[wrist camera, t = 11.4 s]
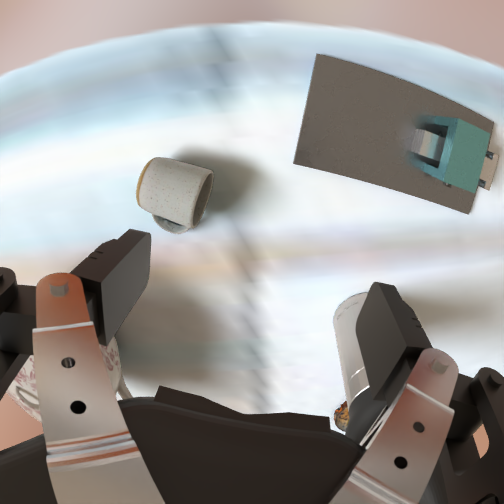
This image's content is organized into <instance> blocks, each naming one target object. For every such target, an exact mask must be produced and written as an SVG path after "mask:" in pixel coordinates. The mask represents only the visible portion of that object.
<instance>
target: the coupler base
mask: <svg viewBox="0 0 504 504" xmlns="http://www.w3.org/2000/svg"><path fill="white" fill-rule="evenodd" d="M436 116H443V117H452V118H459V119H461V120H463V121H465V122H468V123H470V124H472V125H474V126H476V127H478V128H480V129H482V130H484V131H486V132H488V133H490V138H491V134H492V129H493V124H494V122H492V121H490V120H489V119H487V118H485V117H483V116H481V115H479V114H477V113H476V112H474V111H472V110H470V109H468V108H466V107H464V106H462V105H460V104H458V103H455V102H453V101H451V100H449V99H447V98H445V97H443V96H440V95H438V94H436V93H433V92H431V91H429V90H426V89H424V88H422V87H419V86H417V85H414V84H412V83H409V82H407V81H404V80H401V79H399V78H396V77H393V76H390V75H388V74H385V73H382V72H379V71H376V70H373V69H370V68H367V67H363V66H360V65H357V64H353V63H350V62H347V61H343V60H339V59H336V58H332V57H328V56H324V55H320V54H316V57H315V62H314V67H313V72H312V77H311V82H310V86H309V91H308V96H307V101H306V105H305V110H304V115H303V119H302V124H301V129H300V133H299V138H298V142H297V147H296V152H295V156H294V161H293V164H297V165H301V166H305V167H310V168H314V169H318V170H322V171H326V172H330V173H334V174H338V175H342V176H346V177H350V178H354V179H357V180H361V181H365V182H368V183H372V184H375V185H379V186H382V187H386V188H389V189H393V190H396V191H399V192H403V193H406V194H409V195H412V196H415V197H419V198H422V199H425V200H428V201H431V202H434V203H437V204H440V205H443V206H446V207H449V208H451V209H454V210H457V211H460V212H463V213H465V214H468V215H469V212H470V209H471V206H472V203H473V200H474V197H475V193H476V192H475V193H472V192H469V191H467V190H464V189H462V188H459V187H456V186H454V185H452V187H451V188H449V187H447V186H444V185H443V181H441V180H439V179H437V178H435V177H433V176H431V175H429V174H427V173H425V172H423V168H424V164H425V163H426V164H429V165H432V166H434V167H437V168H439V164H440V160H441V156H442V152H443V148H444V144H445V140H446V136H447V131H448V129H446V128H443V127H441V126H439V125H436V124H434V123H435V118H436ZM490 138H489V142H490ZM489 142H488V147H489ZM488 147H487V151H486V155H485V159H484V163H483V167H482V171H481V174H480V178H479V181H478V185H477V187H478V186H480V187H482V188H484V189H486V190H490V187H491V183H492V180H493V176H494V173H495V169H496V165H497V162H498V158H499V155H497V154H495V153H492V152H489V151H488ZM476 190H477V188H476Z"/></svg>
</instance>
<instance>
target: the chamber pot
mask: <svg viewBox="0 0 504 504" xmlns="http://www.w3.org/2000/svg"><path fill="white" fill-rule="evenodd" d="M99 346H100V350H101V353H102V357H103V360H104V363H105V366H106V369H107V373H108V376H109V379H110V382H111V385H112V388H113V391H114V393H115V396H116V393H117V392H118V393H119V395H120V396H121V397H122V399H128V398H133V397H132V395H131V393H130V392H129V390H128V388H127V387H126V384H125V382H124V379H123V376H122V369H121V363H120V357H119V351H118V346H117V341H116V339H115V337H114V336H113V338H112V339H111V341H110V343H109V344H108V346H107V347H106V346H103V345H101V344H99ZM6 393H7V394H8V395H9V396H10V397H11V399H12V400H13V401H14V402H15V403H16V404H17V405H19V406H20V407H21V408H22V409H23V410H24V411H26V412H27V413H28V414H29V415H30V416H32V417H33V418H35V419H36V420H38V421H39V422H41V423H42V421H41V415H40V409H39V402H38V394H37V386H36V377H35V366H34V356H33V355H30V357H29V358H28V360H27V361H26V362H25V364H24V365H23V367H22V368H21V370H20V371H19V373H18V374H17V376H16V377H15V379H14V380H13V382H12V383H11V385H10V386H9V388H8V389H7V391H6Z"/></svg>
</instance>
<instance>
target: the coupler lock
mask: <svg viewBox="0 0 504 504" xmlns="http://www.w3.org/2000/svg"><path fill="white" fill-rule="evenodd" d="M434 124H436V125H439V126H441V127H443V128H446V129H448V131H447V136H446V140H445V144H444V148H443V152H442V156H441V160H440V164H439V168H437V167H434V166H432V165H429V164H426V163H425V164H424V168H423V172H425V173H427V174H429V175H431V176H433V177H435V178H437V179H439V180H441V181H443V185H444V186H447V187H449V188H451V187H452V185H454V186H456V187H459V188H462V189H464V190H467V191H469V192H472V193H475V192H476V188H477V185H478V181H479V178H480V174H481V171H482V167H483V163H484V159H485V155H486V151H487V147H488V142H489V138H490V133H488V132H486V131H484V130H482V129H480V128H478V127H476V126H474V125H472V124H470V123H468V122H465V121H463V120H461V119H459V118H452V117H443V116H436V118H435V123H434Z"/></svg>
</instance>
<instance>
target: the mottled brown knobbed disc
mask: <svg viewBox="0 0 504 504" xmlns="http://www.w3.org/2000/svg"><path fill="white" fill-rule="evenodd" d="M334 420H335V424H336V426H337V427H338V428H339V429H340V430H342V431H345V432H346V428H347V425H348V422H349V412H348V406H347V401H345V402H344V403H343V404H341V408H340V410H339V411H338V410H335V413H334Z"/></svg>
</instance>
